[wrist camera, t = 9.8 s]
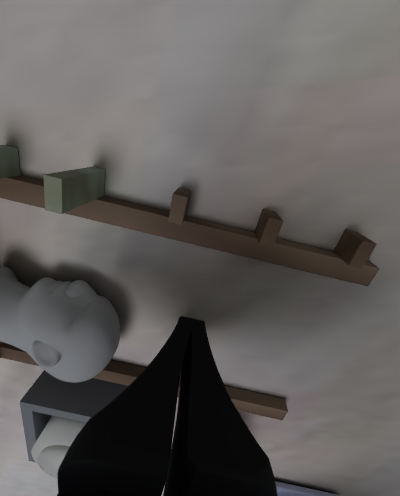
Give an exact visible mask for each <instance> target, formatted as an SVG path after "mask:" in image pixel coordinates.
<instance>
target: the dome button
mask: <svg viewBox="0 0 400 496" xmlns="http://www.w3.org/2000/svg"><path fill="white" fill-rule="evenodd" d="M85 424H86V423H84V422H80V421H75V420H71V419H66V418H61V417H57V416H52V417H51V418H50V420H49V422H48V423H47V425H46V427H45V428H44V430H43V431H42V433H41V435H40V436H39V438H38V439H37V441H36V443H35V444H34V446H33V448H32V450H31V454H32V457H33V459H34V461H35V462H36V463H37V464H38V465H39V467H40V468H41V469H42V470H43V471H44V472H46V473H47V474H49V475H50V476H52V477H54V478H57V479H58V476H57V473H58V469H59V467H60V465H61V463H62V461H63V459H64V457H65V455H66V453H67V451H68V449H69V447H70V446H71V444H72V442H73V441H74V439H75V438H76V436H77V435H78V433H79V432H80V431H81V429H82V428H83V427H84V425H85Z"/></svg>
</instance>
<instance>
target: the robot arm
mask: <svg viewBox="0 0 400 496" xmlns="http://www.w3.org/2000/svg"><path fill="white" fill-rule="evenodd" d="M180 375H181V379H180ZM179 382H180V390H179V402H178V412H177V420H176V425H175V431H174V437H173V428H174V420H175V412H176V404H177V396H178V389H179ZM172 437H173V443H172ZM171 446H172V449H171ZM57 476H58V491H59V493H58V495H57V496H161V494H162V491H163V488H164V485H165V489H164V494H163V496H339V495H337V494H332V493H328V492H323V491H318V490H314V489H309V488H305V487H300V486H295V485H291V484H286V483H281V482H277V481H275V479H274V475H273V471H272V468H271V464H270V461H269V458H268V457H267V455H266V454H265V453H264V451H263V450H262V448H261V447H260V446H259V444H258V443H257V441H256V440H255V438H254V437H253V435H252V434H251V432H250V431H249V429H248V427H247V426H246V424H245V423H244V421H243V419H242V418H241V416H240V414H239V412H238V411H237V409H236V407H235V405H234V404H233V402H232V400H231V398H230V396H229V394H228V392H227V390H226V388H225V386H224V383H223V381H222V379H221V377H220V374H219V372H218V369H217V366H216V364H215V361H214V358H213V355H212V352H211V348H210V345H209V341H208V337H207V333H206V327H205V323H204V321H201V320H196V319H192V318H188V317H183V316H181V317H179V320H178V323H177V325H176V327H175V329H174V331H173V332H172V334H171V336H170V337H169V339H168V340H167V342H166V343H165V345H164V346H163V348H162V349H161V350H160V352H159V353H158V354H157V356H156V357H155V358H154V359H153V361H152V362H151V363H150V364H149V365H148V366H147V367H146V369H145V370H144V371H143V372H142V373H141V374H140V375H139V376H138V377H137V378H136V379H135V380H134V381H133V382H132V383H131V384H130V385H129V386H128V387H127V388H126V389H125V390H124V391H123V392H121V393H120V394H119V395H118V396H117V397H116V398H115V399H114V400H112V401H111V402H110V403H109V404H108V405H106V406H105V407H104V408H102V409H101V410H100V411H99V412H97V413H96V414H95V415H94V416H92V417H91V418H90V419H89V420H88V422H87V423H86V424H85V425H84V427H83V428H82V429H81V431H80V432H79V433H78V435H77V436H76V438H75V439H74V441H73V442H72V444H71V446H70V447H69V449H68V451H67V453H66V455H65V457H64V459H63V461H62V463H61V465H60V467H59V469H58V473H57ZM165 482H166V483H165Z"/></svg>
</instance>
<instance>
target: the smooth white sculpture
mask: <svg viewBox="0 0 400 496" xmlns="http://www.w3.org/2000/svg"><path fill="white" fill-rule="evenodd" d="M119 339H120V325H119V319H118V315H117V313H116V311H115V309H114V307H113V305H112V304H111V302H110V301H109V300H108V299H107V298H105V297H103V296H98V295H97V294H96V292H95V291H94V290H93V289H92V288H91V287H90V286H89V284H88V283H87V282H85V281H83V280H76V281H74V282H70V281H65V282H62V281H56V280H54V279H52V278H49V277H44V278H42V279H40V280H39V281H37V282H36V283H35V284H34V285H33V286H32V287H31V288H30V287H27V286H25V285H23V284H21V283H20V282H18V279H17V277H16V275H15V274H14V272H13V271H12V270H11V269H9V268H8V267H4V266H2V267H0V341H1V342H4V343H7V344H10V345H13V346H15V347H17V348H19V349H21V350H23V351H25V352H27V353H28V354H29V355H30V356H31V357H32V359H33V360H34V361H35V362H36V363H37V364H38V365H39V366H40V367H41V368H43V369H44V370H45V371H46V372H48V373H49V374H50V375H52V376H54V377H55V378H57V379H59V380H62V381H66V382H83V381H86V380H89V379H91V378H93V377H94V376H96V375H97V374H99V373H100V372H101V371H102V370H103V369H104V368H105V367H106V366H107V364H108V363H109V362H110V360H111V359H112V357H113V355H114V353H115V351H116V349H117V347H118V344H119Z"/></svg>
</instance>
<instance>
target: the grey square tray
mask: <svg viewBox="0 0 400 496" xmlns="http://www.w3.org/2000/svg"><path fill="white" fill-rule="evenodd" d="M127 387H128V386H127V385H122V384H118V383H113V382H109V381H104V380H100V379H95V378H91V379H89V380H86V381H83V382H66V381H62V380H59V379H57V378H55V377H54V376H52V375H50V374H49V373H48V372H46V371H45V370H44V371H43V372H42V374H41V375H40V376H39V378H38V379H37V380H36V381H35V383H34V384H33V385H32V387H31V388H30V389H29V390H28V392H27V393H26V394H25V396H24V397H23V398H22V399H21V401H20V406H21V413H22V419H23V425H24V432H25V438H26V445H27V451H28V457H29V461H33V462H35V461H34V459H33V457H32V454H31V450H32V448H33V446H34V444H35V443H36V441H37V439H38V438H39V436H40V435H41V433H42V431H43V430H44V428H45V427H46V425H47V423H48V422H49V420H50V418H51V417H52V416H57V417H61V418H66V419H71V420H75V421H80V422H84V423H87V422H88V420H89V419H90V418H91V417H92V416H94V415H95V414H96V413H97V412H99V411H100V410H101V409H102V408H104V407H105V406H106V405H108V404H109V403H110V402H111V401H112V400H114V399H115V398H116V397H117V396H118V395H119V394H120V393H121V392H123V391H124V390H125V389H126V388H127Z"/></svg>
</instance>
